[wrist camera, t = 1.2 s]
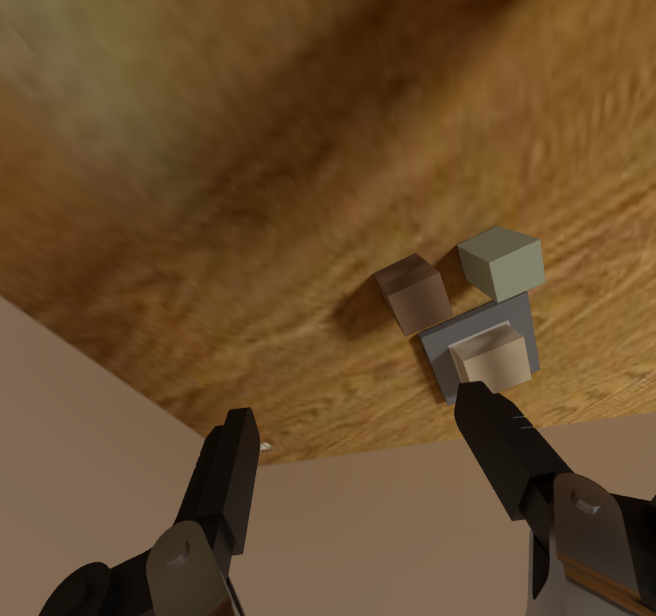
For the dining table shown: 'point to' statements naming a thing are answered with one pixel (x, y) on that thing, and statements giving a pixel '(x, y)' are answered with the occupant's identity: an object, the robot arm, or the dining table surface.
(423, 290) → the walnut block
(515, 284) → the sage block
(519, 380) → the maple slab
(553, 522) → the robot arm
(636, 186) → the dining table surface
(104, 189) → the dining table surface
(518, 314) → the plate
